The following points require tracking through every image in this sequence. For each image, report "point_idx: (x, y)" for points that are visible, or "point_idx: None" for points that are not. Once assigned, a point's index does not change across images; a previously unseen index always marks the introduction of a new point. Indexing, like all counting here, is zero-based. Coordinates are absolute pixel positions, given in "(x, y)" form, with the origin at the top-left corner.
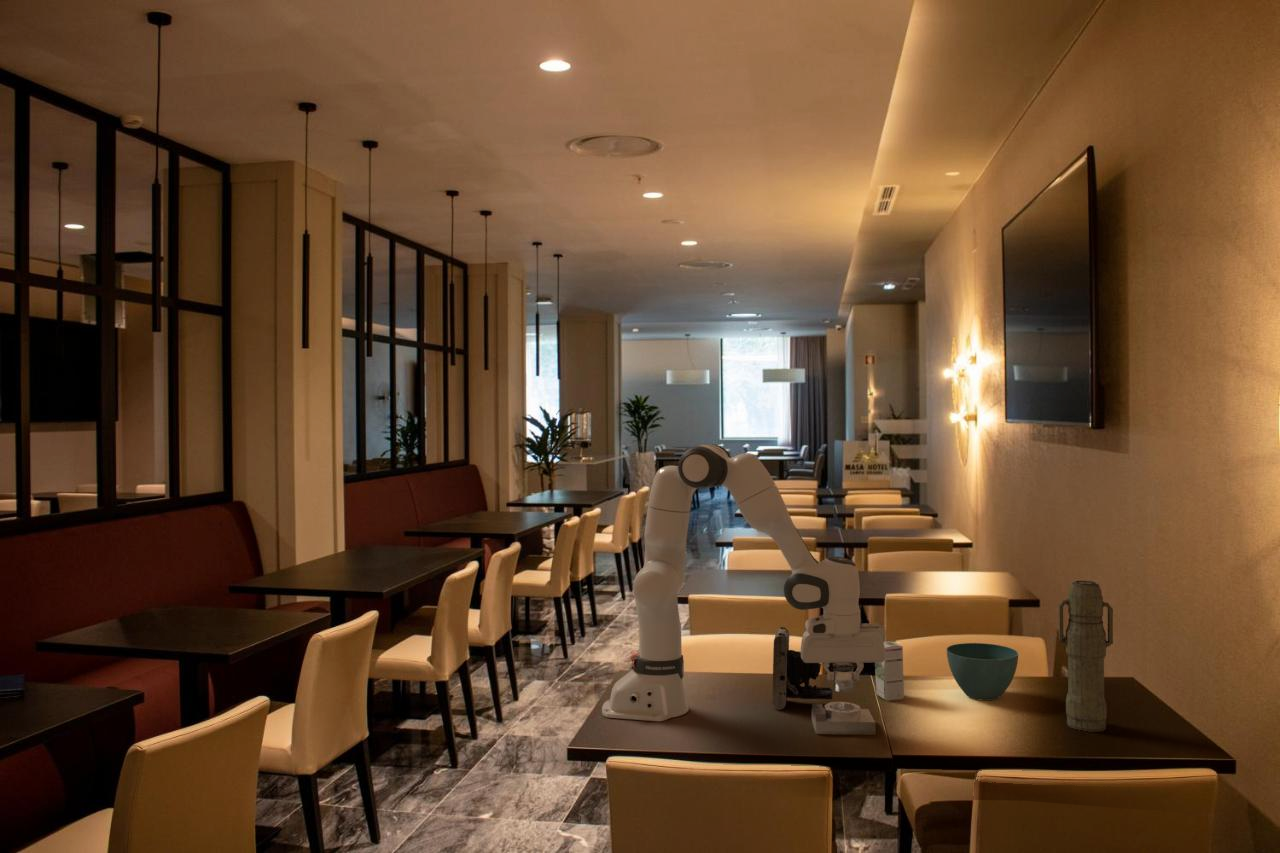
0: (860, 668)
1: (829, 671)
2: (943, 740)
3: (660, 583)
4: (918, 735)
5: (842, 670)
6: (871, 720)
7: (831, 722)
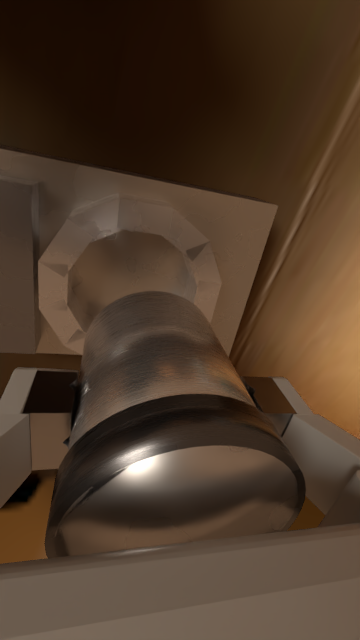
0: (325, 506)
1: (7, 497)
2: (354, 376)
3: None
4: (324, 345)
5: None
6: (222, 345)
7: (63, 352)
